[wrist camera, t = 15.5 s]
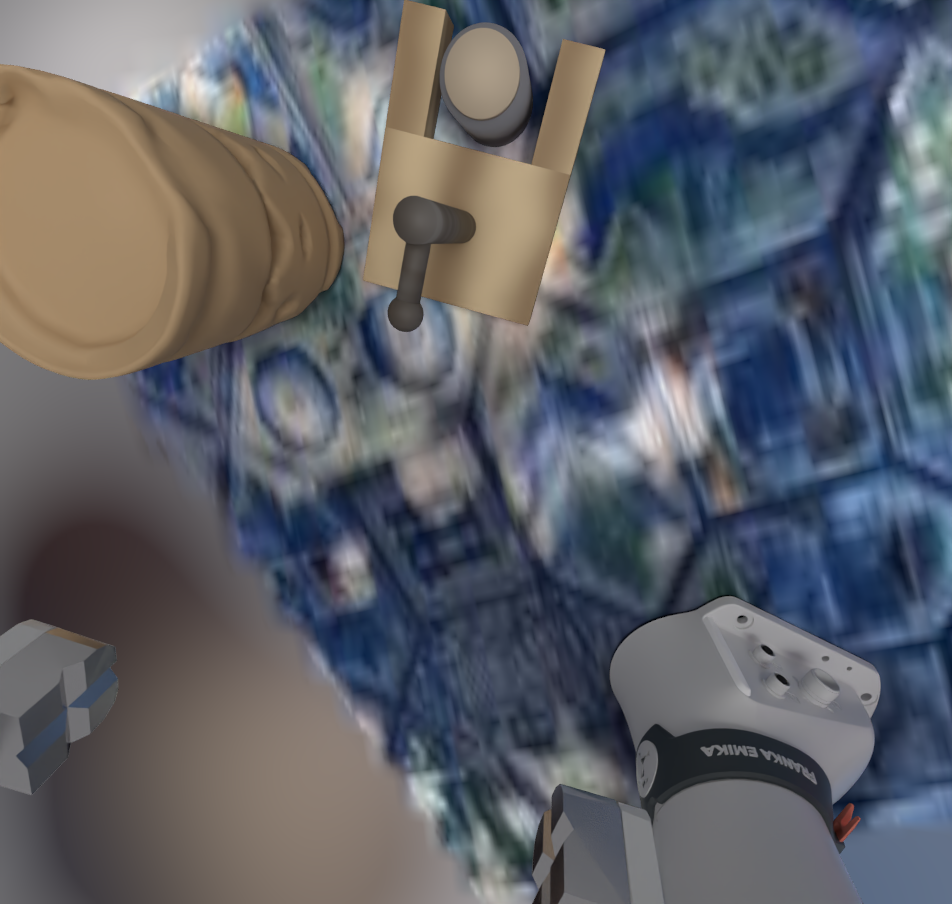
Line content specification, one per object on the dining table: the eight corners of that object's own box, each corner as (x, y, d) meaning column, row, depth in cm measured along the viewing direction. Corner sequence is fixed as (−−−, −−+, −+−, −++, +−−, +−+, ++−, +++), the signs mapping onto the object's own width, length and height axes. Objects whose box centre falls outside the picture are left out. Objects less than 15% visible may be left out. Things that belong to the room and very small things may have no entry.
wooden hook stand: (602, 63, 32) (632, -64, 19) (528, 324, 38) (512, 369, 25) (415, 16, 32) (315, -139, 19) (374, 282, 39) (277, 303, 26)
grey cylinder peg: (546, 117, 33) (543, 90, 27) (482, 162, 35) (467, 146, 29) (509, 41, 32) (497, -5, 26) (445, 91, 34) (420, 58, 28)
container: (244, 99, 36) (-27, -23, 19) (378, 239, 38) (238, 238, 21) (157, 239, 40) (-123, 238, 24) (281, 357, 42) (103, 431, 26)
